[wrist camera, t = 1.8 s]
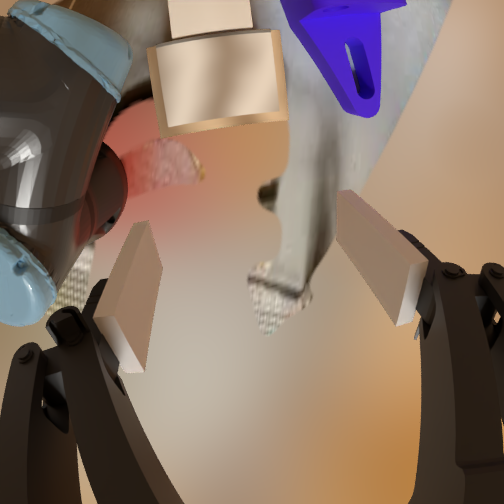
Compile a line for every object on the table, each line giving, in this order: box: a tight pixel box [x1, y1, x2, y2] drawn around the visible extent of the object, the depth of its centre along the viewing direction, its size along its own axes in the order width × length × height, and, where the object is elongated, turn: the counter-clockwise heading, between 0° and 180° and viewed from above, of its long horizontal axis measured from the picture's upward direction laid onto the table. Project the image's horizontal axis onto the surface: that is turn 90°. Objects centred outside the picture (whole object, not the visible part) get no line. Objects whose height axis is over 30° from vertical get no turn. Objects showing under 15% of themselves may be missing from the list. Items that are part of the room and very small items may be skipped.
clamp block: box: [146, 29, 289, 139], centre depth 28 cm, size 12×9×11 cm
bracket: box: [280, 0, 407, 118], centre depth 26 cm, size 18×11×12 cm, turn 18°
